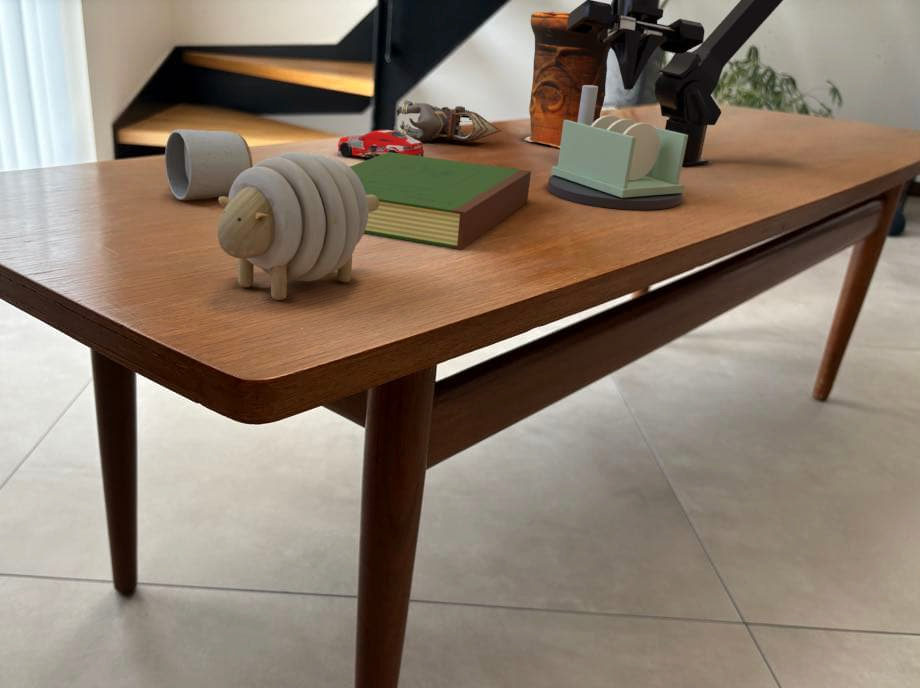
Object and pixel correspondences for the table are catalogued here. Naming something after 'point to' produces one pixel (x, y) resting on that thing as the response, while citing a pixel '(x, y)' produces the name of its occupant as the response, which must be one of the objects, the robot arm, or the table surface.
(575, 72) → the vessel
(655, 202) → the turntable
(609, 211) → the table surface
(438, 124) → the figurine
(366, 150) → the race car
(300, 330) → the table surface
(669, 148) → the dish rack
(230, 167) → the ceramic mug
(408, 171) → the hardcover book
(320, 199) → the toy sheep
